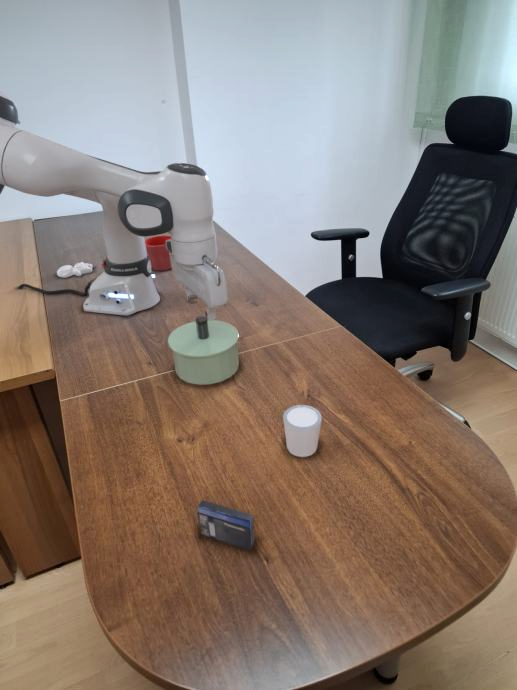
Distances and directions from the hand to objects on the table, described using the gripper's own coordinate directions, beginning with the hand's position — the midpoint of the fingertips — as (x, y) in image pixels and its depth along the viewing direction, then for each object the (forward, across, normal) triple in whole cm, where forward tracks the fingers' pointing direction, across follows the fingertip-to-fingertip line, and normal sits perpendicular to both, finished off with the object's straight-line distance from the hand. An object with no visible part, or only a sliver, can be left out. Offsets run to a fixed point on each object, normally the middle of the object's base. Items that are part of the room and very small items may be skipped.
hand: (201, 310), depth 101 cm
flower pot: (+15, +67, -15) cm, 70 cm away
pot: (+15, 0, 0) cm, 15 cm away
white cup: (+15, -33, -3) cm, 37 cm away
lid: (+7, 0, 0) cm, 7 cm away
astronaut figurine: (+15, +80, +12) cm, 83 cm away
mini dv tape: (+15, -43, +18) cm, 49 cm away
